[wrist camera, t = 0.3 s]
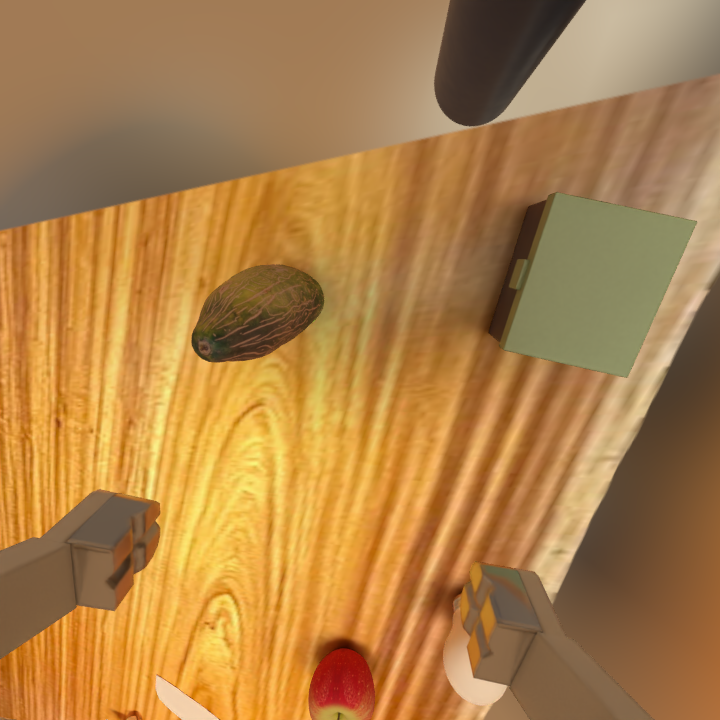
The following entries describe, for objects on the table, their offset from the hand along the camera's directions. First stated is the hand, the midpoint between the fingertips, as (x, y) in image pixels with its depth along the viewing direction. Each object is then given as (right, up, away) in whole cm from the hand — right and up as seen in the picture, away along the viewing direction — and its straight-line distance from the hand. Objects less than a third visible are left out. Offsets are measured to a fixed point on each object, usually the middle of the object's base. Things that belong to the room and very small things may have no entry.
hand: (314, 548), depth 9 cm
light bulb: (+14, -25, +37) cm, 47 cm away
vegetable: (-4, +12, +28) cm, 31 cm away
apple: (-1, -36, +42) cm, 55 cm away
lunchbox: (+20, +12, +26) cm, 35 cm away
